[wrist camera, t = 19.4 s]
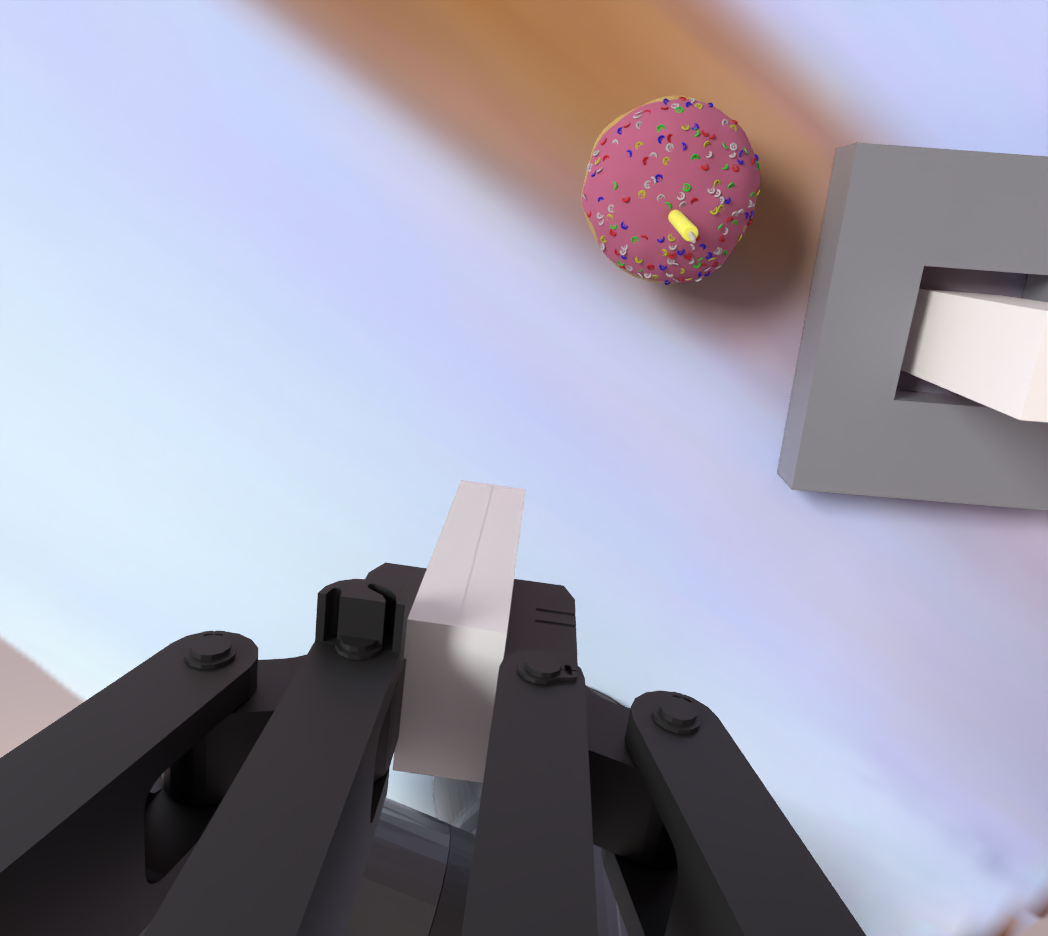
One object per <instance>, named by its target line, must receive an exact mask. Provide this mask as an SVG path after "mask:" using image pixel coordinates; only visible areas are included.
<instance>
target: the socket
mask: <svg viewBox="0 0 1048 936" xmlns="http://www.w3.org/2000/svg"><path fill="white" fill-rule="evenodd" d="M924 266H933V267H946V268H959V269H972V270H985V271H998V272H1012V273H1025V274H1028V277H1027V281H1026V285H1025V289H1024V292H1023V296H1022V298H1023V299H1029V300H1036V301H1042V302H1048V157H1046V156H1032V155H1018V154H1005V153H991V152H977V151H963V150H950V149H936V148H922V147H909V146H895V145H881V144H867V143H855V144H851V145H848V146H844V147H840V148H837V149H836V153H835V158H834V164H833V169H832V175H831V180H830V186H829V191H828V197H827V202H826V208H825V213H824V219H823V224H822V230H821V235H820V241H819V246H818V251H817V257H816V262H815V268H814V273H813V279H812V284H811V290H810V295H809V301H808V306H807V312H806V317H805V323H804V328H803V334H802V339H801V345H800V350H799V355H798V361H797V366H796V372H795V377H794V383H793V388H792V394H791V399H790V405H789V410H788V416H787V421H786V427H785V432H784V438H783V443H782V449H781V454H780V459H779V465H778V470H777V473H778V475H779V476H780V477H781V478H782V479H783V480H784V481H785V483H786V484H787V485H788V486H789V487H790V488H791V489H792V490H804V491H816V492H828V493H840V494H852V495H864V496H877V497H889V498H901V499H913V500H925V501H937V502H949V503H961V504H973V505H985V506H998V507H1010V508H1022V509H1034V510H1046V511H1048V422H1037V421H1025V420H1018V419H1016V418H1014V417H1011V416H1009V415H1007V414H1004V413H1002V412H999V411H997V410H995V409H992V408H990V407H988V406H985V405H983V404H980V403H978V402H976V401H973V400H971V399H969V398H966V397H964V396H958V395H945V394H933V393H920V392H908V391H896V388H897V384H898V380H899V375H900V371H901V366H902V362H903V357H904V353H905V348H906V344H907V340H908V335H909V331H910V326H911V322H912V317H913V313H914V309H915V304H916V300H917V295H918V291H919V286H920V282H921V277H922V273H923V269H924Z"/></svg>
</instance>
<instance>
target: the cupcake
mask: <svg viewBox="0 0 1048 936" xmlns="http://www.w3.org/2000/svg"><path fill="white" fill-rule="evenodd" d="M737 123H738V122H737V121H735V120H732V119H730V118H729V117H728V116H726V115H725V114H724V113H722V112H721V111H720V110H718V109H717V108H715V107H714V106H713V104H712V103H707V102H705V101H703V100H700V99H697V98H692V97H686V96H666V97H662V98H658V99H655V100H652V101H650V102H648V103H646V104H643V105H641V106H639V107H637V108H635V109H633V110H631V111H629V112H627V113H625V114H623V115H621V116H620V117H618V118H616V119H615V120H614V121H613V122H611V123H610V124H609V125H608V126H607V127H606V128H605V129H604V130H603V131H602V133H601V134H600V135H599V137H598V139H597V140H596V142H595V145H594V147H593V150H592V153H591V157H590V161H589V164H588V166H587V172H586V176H585V180H584V185H583V189H582V194H581V205H582V209H583V212H584V214H585V217H586V219H587V222H588V225H589V227H590V230H591V232H592V234H593V236H594V238H595V239H596V241H597V243H598V245H599V246H600V248H601V250H602V251H603V252H604V254H605V255H606V256H607V257H608V258H609V259H610V260H611V261H612V262H613V263H614V264H615V265H616V266H618V267H619V268H620V269H622V270H623V271H625V272H627V273H628V274H630V275H632V276H635V277H638V278H641V279H644V280H648V281H652V282H660V283H665V284H666V285H668V284H670V283H683V282H692V281H696V282H697V281H700V280H701V279H702V278H703V277H705V276H708V275H709V274H711V273H712V272H714V271H715V270H717V269H718V268H720V267H721V266H722V265H723V263H724V262H725V261H726V259H727V257H728V256H729V254H730V253H731V251H732V250H733V248H734V247H735V246H736V244H737V243H738V241H740V240H741V237H742V236H743V234H744V233H745V231H746V229H747V228H748V226H749V225H750V224H751V223H752V218H753V214H754V209H755V204H756V198H757V195H758V194H759V192H760V190H759V186H760V173H759V164H758V163H757V161H758V156H757V155H756V154H754V152H753V150H752V148H751V145H750V143H749V140H748V138H747V136H746V134H745V132H744V131H743V129H742V128H741V127H740V126H739V125H738V124H737ZM755 156H756V157H757V159H756V157H755Z"/></svg>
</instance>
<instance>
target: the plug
mask: <svg viewBox="0 0 1048 936" xmlns="http://www.w3.org/2000/svg"><path fill="white" fill-rule="evenodd" d="M901 370H902V371H904V372H907V373H909V374H912V375H914V376H916V377H919V378H921V379H923V380H926V381H928V382H931V383H933V384H935V385H938V386H940V387H942V388H945V389H947V390H950V391H952V392H954V393H957V394H959V395H961V396H964V397H966V398H969V399H971V400H973V401H976V402H978V403H980V404H983V405H985V406H988V407H990V408H992V409H995V410H997V411H999V412H1002V413H1004V414H1007V415H1009V416H1011V417H1014V418H1016V419H1018V420H1025V421H1037V422H1048V302H1042V301H1036V300H1029V299H1023V298H1017V297H1010V296H1004V295H995V294H982V293H969V292H956V291H943V290H930V289H919V291H918V295H917V300H916V304H915V309H914V313H913V317H912V322H911V326H910V331H909V335H908V340H907V344H906V348H905V353H904V357H903V362H902V366H901Z"/></svg>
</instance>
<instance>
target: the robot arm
mask: <svg viewBox="0 0 1048 936" xmlns="http://www.w3.org/2000/svg"><path fill="white" fill-rule="evenodd" d="M524 497H525V489H519V488H512V487H505V486H498V485H491V484H484V483H477V482H469V481H462V480H461V482H460V485H459V487H458V490H457V492H456V495H455V498H454V500H453V503H452V505H451V508H450V511H449V513H448V516H447V518H446V521H445V523H444V526H443V529H442V531H441V534H440V536H439V539H438V542H437V544H436V547H435V549H434V552H433V554H432V557H431V560H430V562H429V565H428V567H427V569H426V568H419V567H412V566H405V565H398V564H391V563H384V564H383V565H381V566H379V567H377V568H376V569H374V570H372V571H371V572H369V573H368V575H367V577H366V579H351V580H343V581H338V582H335V583H333V584H330V585H327V586H325V587H324V588H323V589H322V590H321V591H320V592H319V593H318V601H317V619H316V637H315V642H314V644H313V646H312V647H311V649H310V651H309V653H308V654H307V655H303V656H299V657H295V658H286V659H271V660H258V647H257V646H256V645H255V643H254V642H253V641H252V640H251V639H249V638H247V637H245V636H242V635H240V634H237V633H230V632H225V631H215V632H213V631H205V632H202V633H198V634H193V635H189V636H186V637H184V638H182V639H179V640H177V641H175V642H173V643H171V644H170V645H168V646H167V647H165V648H164V649H162V650H161V651H159V652H158V653H157V654H155V655H154V656H152V657H151V658H149V659H148V660H146V661H145V662H143V663H142V664H140V665H139V666H137V667H136V668H134V669H133V670H131V671H130V672H128V673H127V674H125V675H124V676H122V677H121V678H119V679H118V680H116V681H115V682H113V683H112V684H110V685H109V686H107V687H106V688H104V689H103V690H101V691H100V692H98V693H97V694H95V695H94V696H92V697H91V698H89V699H88V700H86V701H85V702H83V703H82V704H81V705H79V706H78V707H76V708H75V709H73V710H72V711H70V712H69V713H67V714H66V715H64V716H63V717H61V718H60V719H58V720H57V721H55V722H54V723H52V724H51V725H49V726H48V727H46V728H45V729H43V730H42V731H40V732H39V733H37V734H36V735H34V736H33V737H31V738H30V739H28V740H27V741H25V742H24V743H22V744H21V745H19V746H18V747H16V748H15V749H13V750H12V751H10V752H9V753H7V754H6V755H4V756H3V757H1V758H0V936H866V935H865V933H864V932H863V930H862V929H861V927H860V926H859V924H858V923H857V921H856V920H855V918H854V917H853V915H852V914H851V913H850V911H849V910H848V908H847V907H846V905H845V904H844V902H843V901H842V899H841V898H840V896H839V895H838V893H837V892H836V890H835V889H834V887H833V886H832V885H831V883H830V882H829V880H828V879H827V877H826V876H825V874H824V873H823V871H822V870H821V868H820V867H819V865H818V864H817V862H816V861H815V860H814V858H813V857H812V855H811V854H810V852H809V851H808V849H807V848H806V846H805V845H804V843H803V842H802V840H801V839H800V837H799V836H798V834H797V833H796V832H795V830H794V829H793V827H792V826H791V824H790V823H789V821H788V820H787V818H786V817H785V815H784V814H783V812H782V811H781V809H780V808H779V807H778V805H777V804H776V802H775V801H774V799H773V798H772V796H771V795H770V793H769V792H768V790H767V789H766V787H765V786H764V784H763V783H762V781H761V780H760V779H759V777H758V776H757V774H756V773H755V771H754V770H753V768H752V767H751V765H750V764H749V762H748V761H747V759H746V758H745V756H744V755H743V754H742V752H741V751H740V749H739V748H738V746H737V745H736V743H735V742H734V740H733V739H732V737H731V736H730V734H729V733H728V731H727V730H726V728H725V727H724V726H723V724H722V723H721V721H720V720H719V718H718V717H717V716H716V715H715V714H714V713H713V712H712V711H711V710H710V709H709V708H708V707H707V706H705V705H704V704H702V703H700V702H699V701H697V700H695V699H694V698H691V697H689V696H686V695H682V694H680V693H676V692H667V691H654V692H647V693H644V694H642V695H641V696H639V697H637V698H635V700H634V702H633V704H632V706H631V709H629V708H627V707H624V706H621V705H619V704H618V703H616V702H615V701H613V700H612V699H610V698H608V697H607V696H605V695H603V694H601V693H599V692H597V691H595V690H592V689H590V688H588V687H587V686H586V685H585V678H584V675H583V673H582V670H581V668H580V667H578V665H577V642H576V618H575V599H574V598H573V597H572V596H571V594H570V593H569V592H568V591H567V589H566V588H565V587H564V586H561V585H554V584H547V583H540V582H532V581H525V580H518V579H514V575H515V567H516V559H517V551H518V544H519V536H520V528H521V520H522V512H523V505H524ZM394 750H395V752H394ZM393 754H394V762H393V770H395V771H402V772H410V773H417V774H424V775H431V776H434V779H433V798H434V805H435V810H436V814H437V818H434V817H432V816H429V815H427V814H424V813H422V812H419V811H417V810H415V809H412V808H410V807H407V806H405V805H402V804H400V803H397V802H395V801H393V800H390V799H388V798H386V795H387V788H388V777H389V767H390V763H391V760H392V757H393Z"/></svg>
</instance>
